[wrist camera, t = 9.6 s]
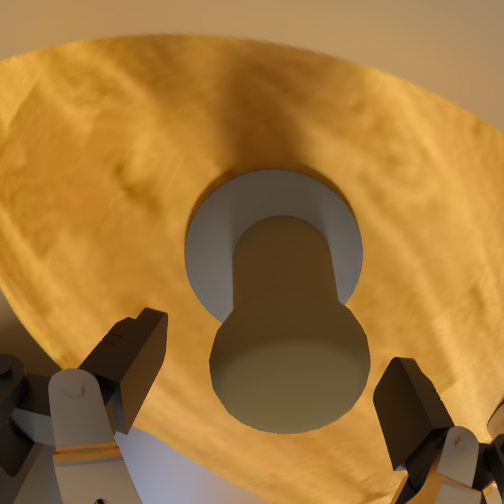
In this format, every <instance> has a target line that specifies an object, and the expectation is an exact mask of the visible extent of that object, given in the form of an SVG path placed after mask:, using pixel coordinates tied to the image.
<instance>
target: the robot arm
mask: <svg viewBox="0 0 504 504" xmlns="http://www.w3.org/2000/svg"><path fill="white" fill-rule="evenodd" d="M167 326H168V314H167V313H165V312H162V311H158V310H155V309H151V308H148V307H146V308H144V310H143V311H142V312H141V313H140V314H139V316H138V317H137V318H136V319H133V318H130V317H127V318H125V319H123V320H121V321H119V322H117V323H116V324H115V325H114V326H113V327H112V328H111V329H110V331H109V332H108V334H106V335H105V336H104V338H103V339H102V341H100V342H99V343H98V345H97V346H96V347H95V348H94V349H93V351H92V352H91V353H90V354H89V355H88V357H87V358H86V359H85V360H84V361H83V363H82V364H81V365H80V366H79V367H78V369H65V370H62V371H60V372H58V373H56V374H55V375H54V376H53V377H52V378H49V377H44V376H39V375H34V374H29V373H26V371H25V368H24V365H23V363H22V362H21V360H20V359H18V358H17V357H15V356H13V355H8V354H1V355H0V504H13V503H14V501H15V498H16V496H17V495H18V493H19V490H20V488H21V486H22V485H23V483H24V481H25V479H26V477H27V475H28V473H29V471H30V469H31V467H32V466H33V464H34V462H35V460H36V458H37V456H38V455H39V453H40V451H41V449H42V447H43V446H44V444H47V445H51V446H55V447H56V453H54V454H53V462H54V467H55V472H56V476H57V480H58V485H59V489H60V492H61V496H62V499H63V503H64V504H143V503H142V501H141V499H140V497H139V495H138V493H137V491H136V488H135V486H134V484H133V482H132V479H131V477H130V474H129V472H128V470H127V467H126V464H125V462H124V459H123V457H122V454H121V452H120V449H119V447H118V446H117V444H116V441H115V438H114V435H115V433H116V431H119V432H121V433H124V434H128V432H129V430H130V428H131V426H132V424H133V422H134V420H135V418H136V416H137V414H138V412H139V410H140V408H141V406H142V404H143V402H144V400H145V398H146V396H147V394H148V392H149V390H150V388H151V386H152V384H153V382H154V380H155V378H156V376H157V374H158V372H159V370H160V368H161V366H162V364H163V361H164V357H165V353H166V341H167ZM440 399H441V398H440V396H439V395H438V393H436V389H435V387H434V386H433V384H432V382H431V381H430V380H429V379H428V378H427V377H426V376H425V375H424V374H423V373H422V372H421V370H420V368H419V366H418V365H417V363H416V361H415V360H414V359H412V358H402V357H394V358H393V359H392V360H391V362H390V363H389V365H388V367H387V369H386V371H385V372H384V374H383V376H382V378H381V379H380V381H379V383H378V385H377V386H376V388H375V391H374V395H373V403H374V406H375V409H376V412H377V415H378V419H379V422H380V425H381V428H382V432H383V435H384V438H385V442H386V445H387V449H388V452H389V456H390V459H391V463H392V466H393V470H394V471H401V470H407V472H408V474H407V475H406V476H405V477H404V478H403V479H402V481H401V483H400V485H399V487H398V489H397V491H396V493H395V495H394V497H393V499H392V501H391V503H390V504H487V502H486V499H485V496H484V493H483V490H484V489H485V488H486V487H487V486H489V485H490V484H491V483H492V482H493V481H494V480H495V482H496V485H497V487H498V490H499V492H500V496H501V499H502V504H504V403H503V404H502V405H501V406H500V408H499V409H498V410H497V411H496V412H495V414H494V415H493V416H492V418H491V420H490V421H489V423H488V426H487V430H488V432H489V434H490V436H491V438H492V439H493V441H492V442H491V443H490V444H485V443H478V440H477V438H476V436H475V435H474V434H473V433H472V432H471V431H470V430H469V429H467V428H464V427H461V426H455V425H454V423H453V421H452V419H451V417H450V415H449V413H448V411H447V409H446V408H445V406H444V404H443V402H442V400H440Z"/></svg>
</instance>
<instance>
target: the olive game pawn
mask: <svg viewBox="0 0 504 504" xmlns="http://www.w3.org/2000/svg"><path fill="white" fill-rule="evenodd" d="M232 279H233V311H232V312H231V313H230V315H229V316H228V317H227V319H226V320H225V321H224V323H223V324H222V325H221V327H220V328H219V329H218V331H217V334H216V337H215V340H214V343H213V347H212V351H211V355H210V358H209V365H210V374H211V380H212V385H213V390H214V391H215V393H216V395H217V396H218V398H219V399H220V401H221V402H222V404H223V405H224V407H225V408H226V410H227V411H228V413H229V414H231V415H232V416H233V417H235V418H236V419H237V420H239V421H240V422H241V423H243V424H245V425H247V426H250V427H252V428H255V429H257V430H260V431H265V432H270V433H277V434H294V433H303V432H307V431H312V430H316V429H320V428H322V427H324V426H326V425H328V424H330V423H332V422H334V421H337V420H338V419H339V418H341V417H342V416H343V415H344V414H346V413H347V412H348V411H349V410H350V409H352V407H353V406H354V404H355V403H356V402H357V400H358V399H359V397H360V396H361V394H362V392H363V390H364V388H365V386H366V383H367V379H368V375H369V371H370V367H371V366H370V352H369V347H368V342H367V336H366V334H365V332H364V330H363V328H362V326H361V325H360V324H359V322H358V321H357V319H356V318H355V316H354V315H353V314H352V312H351V311H350V310H349V309H348V308H347V307H346V306H344V305H343V304H342V303H340V302H339V300H338V293H337V287H336V280H335V274H334V268H333V262H332V257H331V253H330V249H329V246H328V243H327V241H326V239H325V238H324V236H323V235H322V234H321V232H320V231H319V230H318V229H317V228H316V227H315V226H313V225H312V224H310V223H309V222H307V221H306V220H304V219H301V218H297V217H294V216H291V215H277V216H270V217H268V218H265V219H262V220H259V221H257V222H256V223H254V224H253V225H252V226H250V227H249V228H248V229H246V230H245V231H244V233H243V234H242V236H241V237H240V239H239V240H238V242H237V243H236V246H235V250H234V253H233V257H232Z"/></svg>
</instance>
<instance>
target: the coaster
mask: <svg viewBox="0 0 504 504" xmlns="http://www.w3.org/2000/svg"><path fill="white" fill-rule="evenodd" d="M277 215H291V216H294V217H297V218H301V219H304V220H306V221H307V222H309V223H310V224H312V225H313V226H315V227H316V228H317V229H318V230H319V231H320V232H321V234H322V235H323V236H324V238H325V239H326V241H327V243H328V246H329V249H330V253H331V257H332V262H333V268H334V274H335V280H336V287H337V293H338V300H339V302H340V303H342V304H343V305H345V304H346V302H347V301H348V300H349V298H350V296H351V295H352V293H353V291H354V289H355V287H356V285H357V282H358V279H359V276H360V272H361V267H362V260H363V247H362V240H361V235H360V232H359V228H358V225H357V223H356V221H355V218H354V216H353V214H352V213H351V211H350V210H349V208H348V207H347V205H346V204H345V203H344V202H343V200H342V199H341V198H340V197H339V196H338V195H337V194H336V193H335V192H334V191H332V190H331V189H330V188H329V187H327V186H326V185H324V184H323V183H321V182H320V181H318V180H316V179H314V178H312V177H309V176H307V175H304V174H301V173H298V172H295V171H289V170H282V169H267V170H258V171H254V172H250V173H246V174H243V175H241V176H238V177H236V178H234V179H232V180H230V181H229V182H227V183H225V184H223V185H222V186H221V187H219V188H218V189H217V190H215V191H214V192H213V193H212V194H211V195H210V196H209V197H208V198H207V199H206V200H205V201H204V202H203V204H202V205H201V206H200V208H199V209H198V210H197V212H196V214H195V216H194V218H193V220H192V221H191V224H190V227H189V230H188V233H187V237H186V242H185V266H186V271H187V276H188V279H189V281H190V284H191V287H192V289H193V291H194V293H195V295H196V296H197V298H198V299H199V301H200V302H201V304H202V305H203V306H204V307H205V308H206V309H207V311H208V312H209V313H210V314H212V315H213V316H214V317H215V318H216V319H217V320H219V321H220V322H222V323H224V321H225V320H226V319H227V317H228V316H229V315H230V313H231V312H232V311H233V279H232V257H233V253H234V250H235V246H236V243H237V242H238V240H239V239H240V237H241V236H242V234H243V233H244V231H245V230H246V229H248V228H249V227H250V226H252V225H253V224H254V223H256V222H257V221H259V220H262V219H265V218H268V217H270V216H277Z"/></svg>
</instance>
